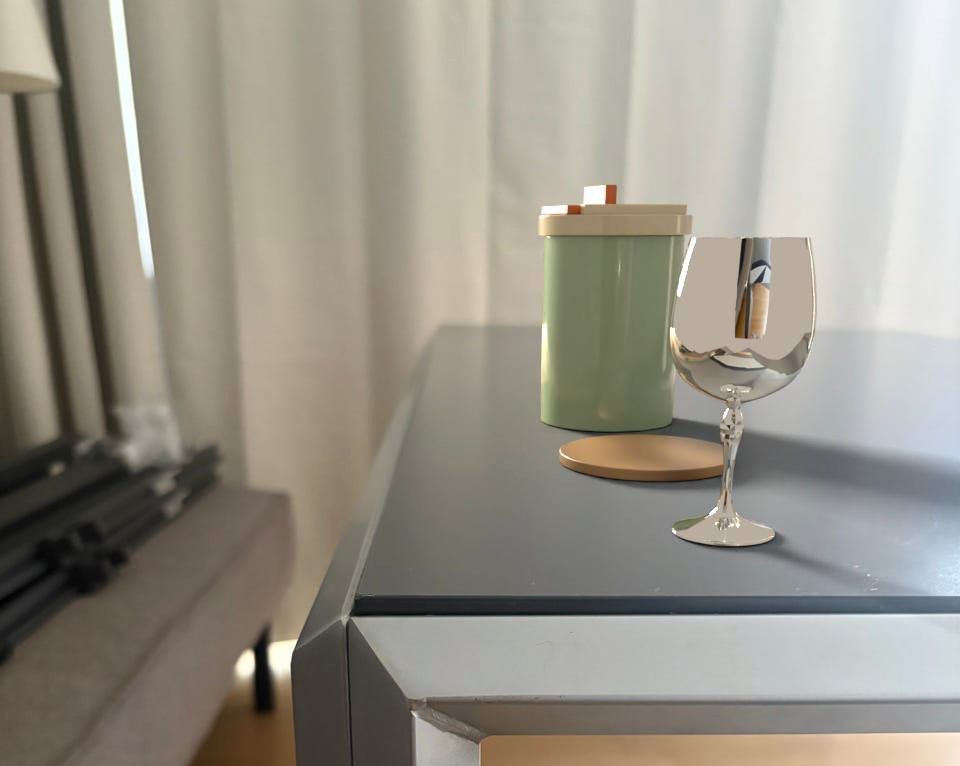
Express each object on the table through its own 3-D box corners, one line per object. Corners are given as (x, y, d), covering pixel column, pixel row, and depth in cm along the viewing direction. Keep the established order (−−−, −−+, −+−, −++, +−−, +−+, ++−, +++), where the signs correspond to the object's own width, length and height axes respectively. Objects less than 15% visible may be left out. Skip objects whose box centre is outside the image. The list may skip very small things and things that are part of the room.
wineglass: (629, 531, 44) (646, 237, 39) (703, 507, 47) (727, 237, 43) (744, 559, 40) (777, 238, 35) (815, 531, 44) (853, 237, 39)
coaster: (677, 439, 63) (678, 430, 63) (771, 472, 54) (773, 461, 54) (532, 451, 60) (532, 441, 60) (608, 488, 51) (608, 476, 51)
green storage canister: (634, 404, 76) (645, 207, 70) (706, 427, 67) (724, 203, 62) (513, 412, 72) (515, 206, 67) (571, 437, 64) (579, 202, 59)
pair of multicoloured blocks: (591, 215, 66) (592, 186, 66) (619, 214, 63) (620, 184, 62) (541, 214, 65) (542, 186, 64) (567, 213, 62) (568, 183, 61)
